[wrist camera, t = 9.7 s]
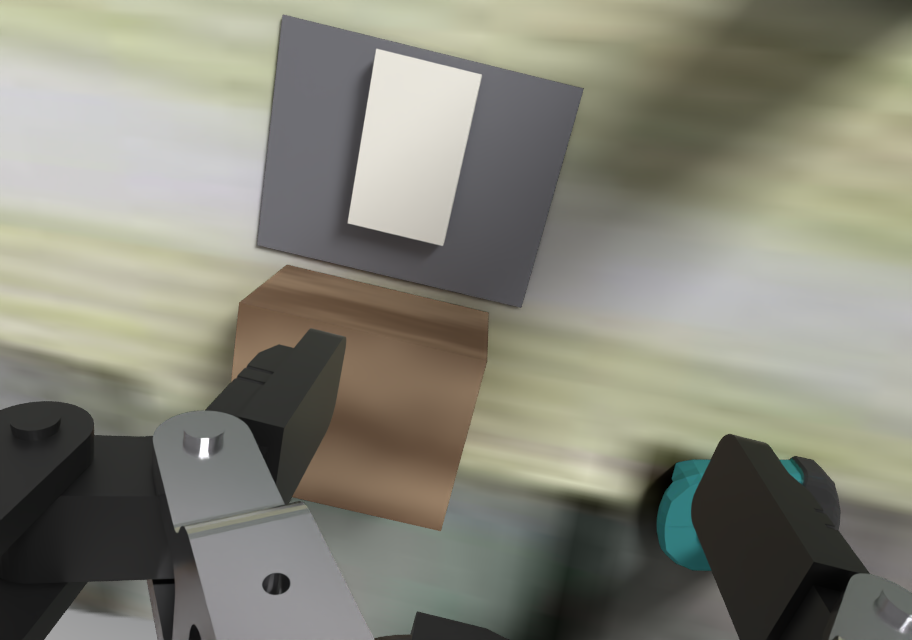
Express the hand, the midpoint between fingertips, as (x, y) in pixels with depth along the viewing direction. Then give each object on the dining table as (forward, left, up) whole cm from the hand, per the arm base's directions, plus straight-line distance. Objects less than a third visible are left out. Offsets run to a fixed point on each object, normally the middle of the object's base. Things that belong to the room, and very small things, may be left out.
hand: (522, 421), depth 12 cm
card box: (-2, -6, -25) cm, 26 cm away
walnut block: (+13, -6, -27) cm, 31 cm away
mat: (-1, -6, -27) cm, 28 cm away
